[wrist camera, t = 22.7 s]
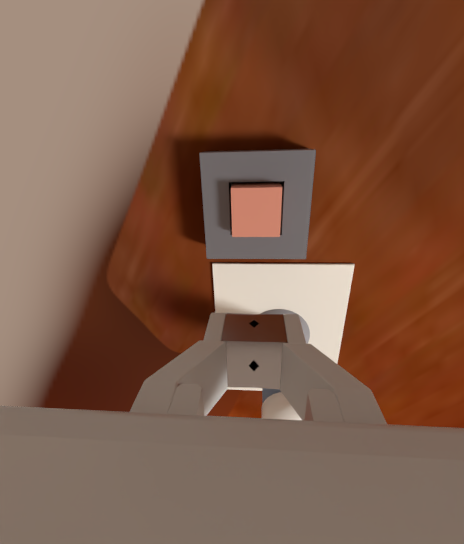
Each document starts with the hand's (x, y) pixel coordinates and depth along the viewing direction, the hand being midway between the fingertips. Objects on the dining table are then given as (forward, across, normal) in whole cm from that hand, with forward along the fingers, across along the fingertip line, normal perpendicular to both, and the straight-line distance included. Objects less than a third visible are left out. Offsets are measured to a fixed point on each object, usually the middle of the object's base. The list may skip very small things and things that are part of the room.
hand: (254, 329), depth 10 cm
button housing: (+22, 0, 0) cm, 22 cm away
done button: (+20, 0, 0) cm, 20 cm away
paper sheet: (+22, -3, +17) cm, 28 cm away
